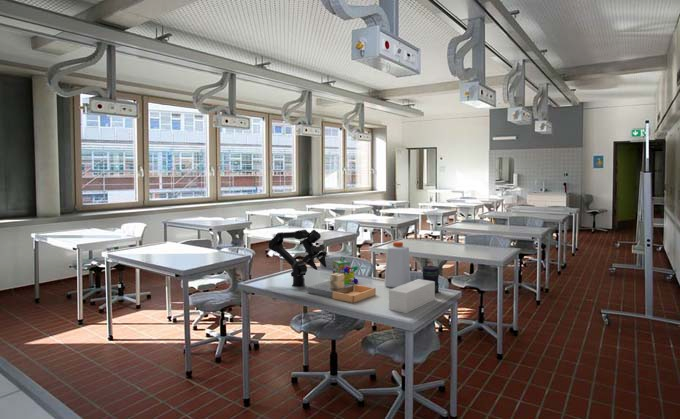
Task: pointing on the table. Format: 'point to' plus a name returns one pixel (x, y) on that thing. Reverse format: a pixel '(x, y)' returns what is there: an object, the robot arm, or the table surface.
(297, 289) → the table surface
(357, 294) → the box
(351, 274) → the molecular model
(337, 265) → the chalk box
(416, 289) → the long white block
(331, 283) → the beech block
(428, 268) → the storage jar
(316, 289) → the slate plate
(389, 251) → the plastic bottle
